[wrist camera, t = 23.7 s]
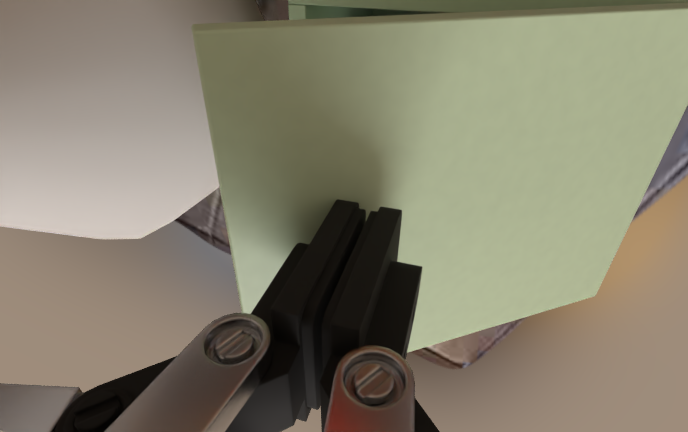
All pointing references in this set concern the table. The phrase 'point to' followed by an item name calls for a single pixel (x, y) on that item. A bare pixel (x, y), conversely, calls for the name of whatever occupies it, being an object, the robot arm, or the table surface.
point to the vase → (104, 113)
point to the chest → (437, 6)
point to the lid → (447, 144)
